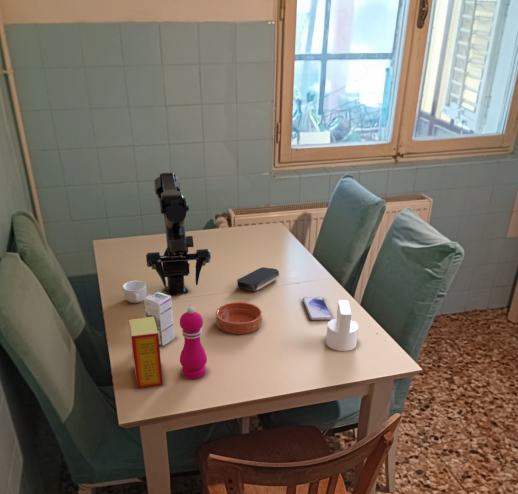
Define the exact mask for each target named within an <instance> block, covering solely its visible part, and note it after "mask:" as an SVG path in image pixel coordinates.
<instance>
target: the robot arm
mask: <svg viewBox="0 0 518 494" xmlns="http://www.w3.org/2000/svg"><path fill="white" fill-rule="evenodd" d="M153 182H154V183H153V184H154V195H155V196H157V202H158V203H159V211H160V214H161V215H163V218H164V228H165V238H166V239H165V240H166V248H165V251H164V253H163V255H161V253H160V251H155V252H147V253H146V255H145V259H146V260H145V261H146V267H148V268H151V270H155V271H156V273H157V274H158V277H159V279H160V280H161V283H162V284H163V287H164V290H165V291H166V292H167V293H168V295H169V296H176V295H180V294H185V293H189V289H188V288H187V287H186V286H185V277H189V274H191V273H190V266H191V265H190V264H191V263H190V262H189V261H195V286H198V284H199V280H200V275H201V272H202V271H201V270H202V268H203V267H205V266H206V265H207V264H208V263H210V262H211V258H212V257H211V251H210V249H209V248H204V249H203V248H202V249H201V248H200V249H196V250H195V253H189V248H194V237H193V235H186V226H185V225H186V219H187V213H188V211H190V209H189V204H188V201H187V200H186V198H185V197H184V196H183V193H182V191H181V182H180V178H179V177H178V176H176V173H175V172H161V173H159V176H158V177H156V178H155V179H154V180H153ZM166 278H167V280H166Z"/></svg>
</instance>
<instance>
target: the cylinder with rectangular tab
mask: <svg viewBox="0 0 518 494" xmlns="http://www.w3.org/2000/svg"><path fill="white" fill-rule="evenodd" d="M352 316H353V315H352V310H351V305H350V301H349V300H347V299H339V300H337V309H336V318H332V319H330V320H328V322H327V324H326V325H327V327H326V335H325V336H326V337H325V344H326V346H327V347H328V348H330V349H332V350H334V351H339V352H340V351H341V352H348V351H351V350H353V349H356V346H357V341H358V334H359V324H358V323H357V322H356V321H355V320H352Z"/></svg>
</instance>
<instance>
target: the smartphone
mask: <svg viewBox="0 0 518 494" xmlns="http://www.w3.org/2000/svg"><path fill="white" fill-rule="evenodd" d="M302 301H303V304H304V306H305V308H306V312H307V315H308V316H309V319H310V320H311V321H324V320H325V321H330V320H332V319H333V316H332V314H331V312H330V309H329V307H328V305H327V304H326V301H325V300H324V297H322V296H310V297H309V296H307V297H306V296H304V297H302Z"/></svg>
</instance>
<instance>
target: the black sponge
mask: <svg viewBox="0 0 518 494" xmlns="http://www.w3.org/2000/svg"><path fill="white" fill-rule="evenodd" d="M279 277H280V272H279V269H276V268H272V267H271V268H270V267H264V266H262V267H259V268H257V269H255V270H253V271H252V272H249V273H248V274H246V275H244V276H241V277H239V278H238V279H236V282H237V287H238V288H239V289H245V290H248V291H252V292H253V291H254V292H257V291H259V290H262V289H263V288H264V287H266V286H267V285H269V284H271V283H273V282H274V281H276V280H278V279H279Z"/></svg>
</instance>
